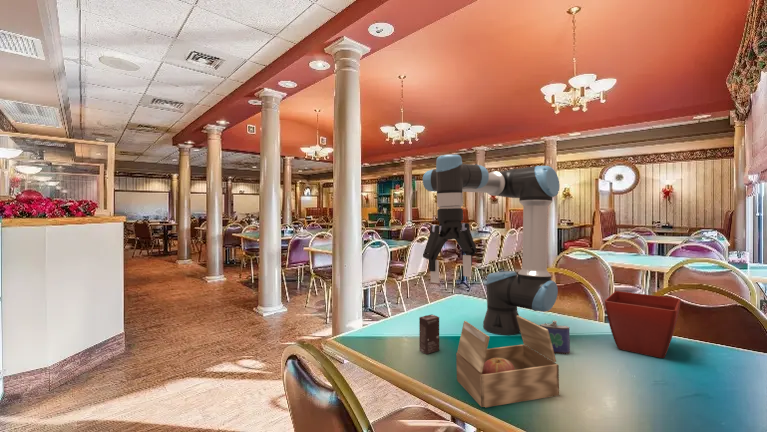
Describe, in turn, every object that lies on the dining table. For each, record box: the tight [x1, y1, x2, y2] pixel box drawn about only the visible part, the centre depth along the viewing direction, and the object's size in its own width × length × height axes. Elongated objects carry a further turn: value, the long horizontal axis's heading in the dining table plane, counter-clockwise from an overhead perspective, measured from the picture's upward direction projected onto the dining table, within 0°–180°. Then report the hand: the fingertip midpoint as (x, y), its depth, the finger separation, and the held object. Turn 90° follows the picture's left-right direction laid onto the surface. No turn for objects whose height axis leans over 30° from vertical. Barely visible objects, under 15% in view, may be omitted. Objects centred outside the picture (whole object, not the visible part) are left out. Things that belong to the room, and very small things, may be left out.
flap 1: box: [456, 320, 490, 372], centre depth 96 cm, size 1×13×9 cm, turn 13°
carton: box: [455, 343, 560, 408], centre depth 99 cm, size 22×15×8 cm
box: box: [418, 314, 440, 355], centre depth 125 cm, size 6×4×12 cm
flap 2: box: [516, 314, 557, 363], centre depth 101 cm, size 1×13×9 cm, turn 13°
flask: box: [539, 320, 571, 355], centre depth 121 cm, size 9×3×11 cm, turn 68°
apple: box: [482, 358, 515, 374], centre depth 98 cm, size 9×9×8 cm
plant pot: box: [604, 290, 682, 359], centre depth 122 cm, size 19×19×17 cm
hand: (451, 279), depth 107 cm, fingers open, 13 cm apart
